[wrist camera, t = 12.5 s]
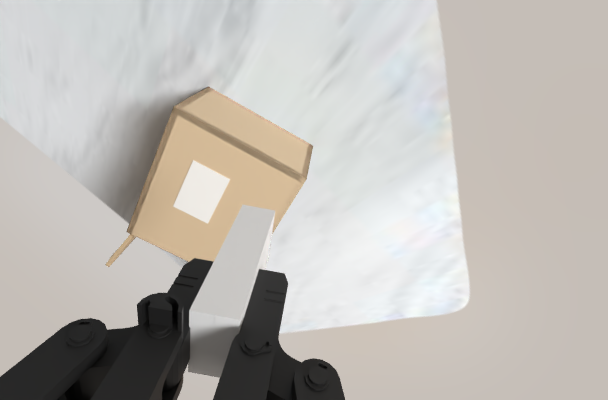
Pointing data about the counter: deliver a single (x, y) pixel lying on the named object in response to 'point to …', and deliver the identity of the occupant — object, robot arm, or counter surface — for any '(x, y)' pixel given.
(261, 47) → the counter surface
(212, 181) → the carton
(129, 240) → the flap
